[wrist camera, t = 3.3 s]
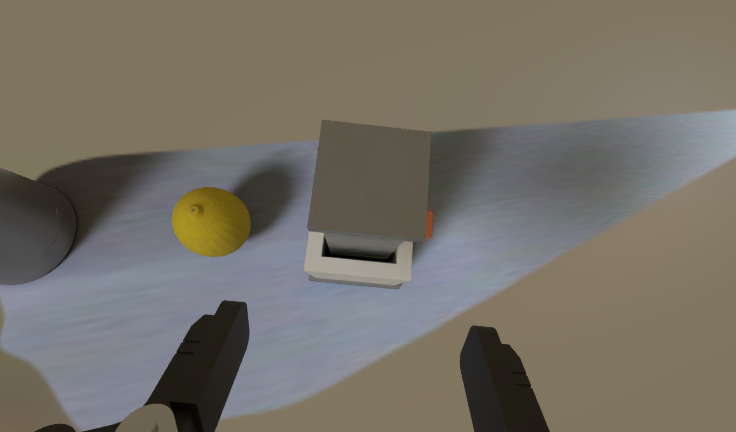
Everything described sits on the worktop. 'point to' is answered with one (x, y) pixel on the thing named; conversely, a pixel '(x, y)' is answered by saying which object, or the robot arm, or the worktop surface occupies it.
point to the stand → (360, 264)
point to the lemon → (211, 221)
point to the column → (370, 189)
